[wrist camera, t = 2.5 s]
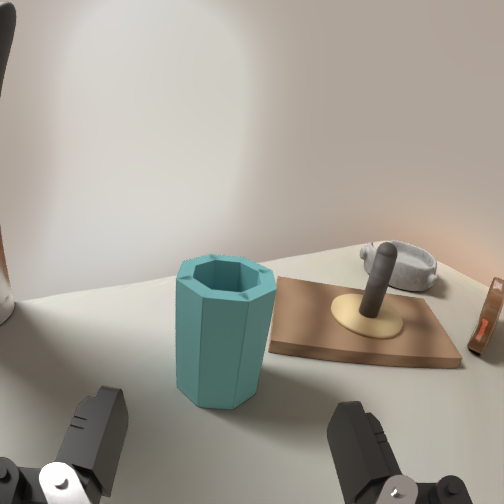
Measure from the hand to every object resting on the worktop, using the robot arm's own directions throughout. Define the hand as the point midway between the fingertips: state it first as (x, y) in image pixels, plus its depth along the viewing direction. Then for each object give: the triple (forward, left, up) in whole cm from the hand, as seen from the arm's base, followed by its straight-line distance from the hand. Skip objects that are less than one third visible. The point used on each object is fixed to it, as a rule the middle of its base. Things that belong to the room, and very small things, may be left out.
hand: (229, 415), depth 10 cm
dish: (+24, +41, -10) cm, 49 cm away
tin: (+32, +23, -10) cm, 41 cm away
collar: (-2, +11, -10) cm, 15 cm away
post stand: (+13, +23, -10) cm, 28 cm away
